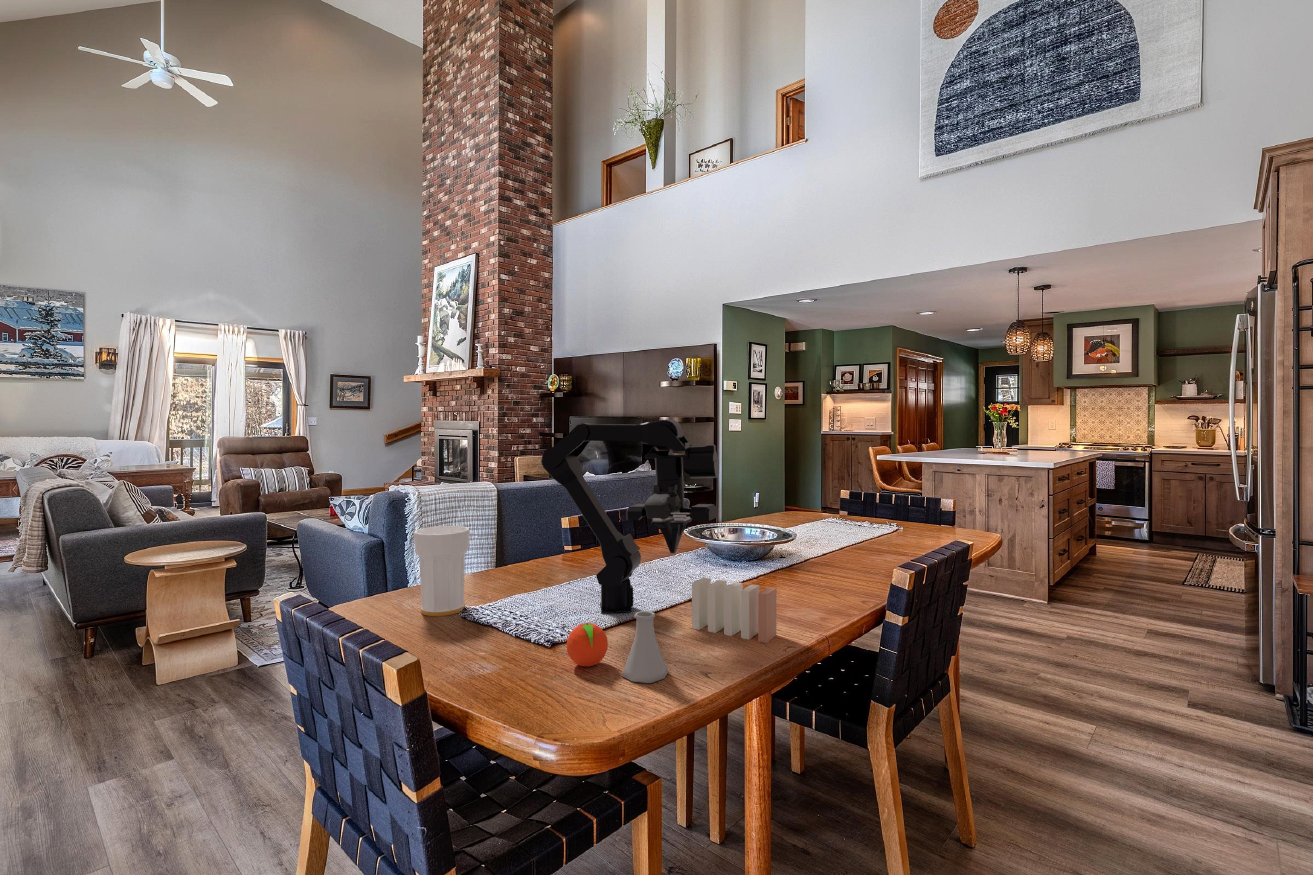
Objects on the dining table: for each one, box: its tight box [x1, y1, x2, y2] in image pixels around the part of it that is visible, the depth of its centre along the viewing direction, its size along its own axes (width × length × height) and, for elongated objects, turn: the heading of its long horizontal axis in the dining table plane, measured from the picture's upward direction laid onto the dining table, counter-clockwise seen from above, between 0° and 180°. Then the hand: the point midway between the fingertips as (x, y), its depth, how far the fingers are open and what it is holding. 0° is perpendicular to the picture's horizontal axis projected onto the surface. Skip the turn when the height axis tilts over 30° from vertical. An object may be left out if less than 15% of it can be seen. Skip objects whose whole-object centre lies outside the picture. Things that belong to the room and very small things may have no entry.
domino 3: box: [723, 581, 744, 637], centre depth 123 cm, size 2×5×9 cm, turn 148°
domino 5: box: [757, 586, 778, 644], centre depth 119 cm, size 2×5×9 cm, turn 148°
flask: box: [621, 610, 669, 684], centre depth 103 cm, size 7×7×10 cm
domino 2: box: [707, 579, 728, 634], centre depth 125 cm, size 2×5×9 cm, turn 148°
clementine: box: [566, 622, 609, 667], centre depth 106 cm, size 8×7×7 cm
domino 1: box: [691, 577, 712, 631], centre depth 127 cm, size 2×5×9 cm, turn 148°
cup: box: [413, 525, 470, 617], centre depth 138 cm, size 11×11×17 cm
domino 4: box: [740, 584, 760, 640], centre depth 121 cm, size 2×5×9 cm, turn 148°
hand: (673, 552), depth 134 cm, fingers closed
